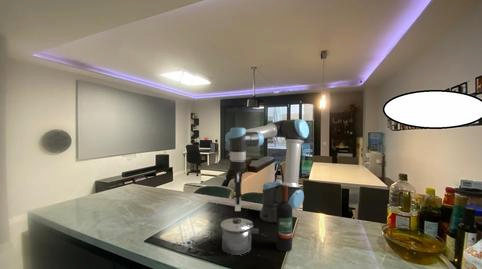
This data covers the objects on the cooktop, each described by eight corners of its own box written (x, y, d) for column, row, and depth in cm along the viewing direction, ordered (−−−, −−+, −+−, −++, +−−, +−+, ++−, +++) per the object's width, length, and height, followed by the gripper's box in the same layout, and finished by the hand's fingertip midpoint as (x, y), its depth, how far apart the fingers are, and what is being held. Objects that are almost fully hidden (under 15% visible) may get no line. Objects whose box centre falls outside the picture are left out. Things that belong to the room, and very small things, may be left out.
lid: (221, 219, 110) (221, 216, 110) (251, 219, 110) (251, 216, 110) (219, 231, 93) (219, 227, 93) (254, 231, 94) (254, 227, 94)
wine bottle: (289, 243, 106) (290, 183, 106) (293, 251, 98) (294, 187, 98) (274, 243, 105) (275, 183, 105) (277, 251, 98) (278, 187, 98)
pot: (216, 239, 108) (216, 220, 108) (257, 240, 109) (257, 220, 109) (212, 255, 94) (213, 233, 94) (260, 255, 95) (260, 233, 95)
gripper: (230, 158, 105) (230, 205, 105) (229, 162, 92) (229, 216, 92) (245, 158, 105) (245, 205, 105) (246, 162, 92) (246, 215, 92)
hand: (237, 210), depth 99 cm, fingers closed
